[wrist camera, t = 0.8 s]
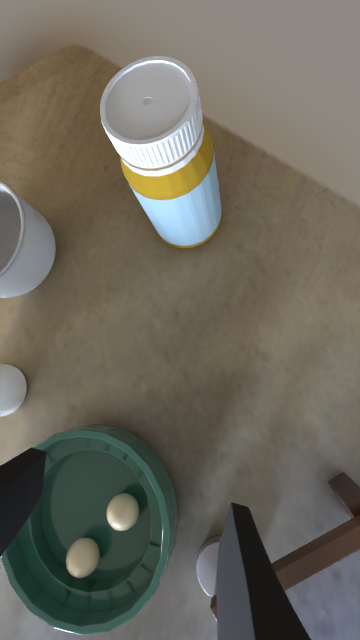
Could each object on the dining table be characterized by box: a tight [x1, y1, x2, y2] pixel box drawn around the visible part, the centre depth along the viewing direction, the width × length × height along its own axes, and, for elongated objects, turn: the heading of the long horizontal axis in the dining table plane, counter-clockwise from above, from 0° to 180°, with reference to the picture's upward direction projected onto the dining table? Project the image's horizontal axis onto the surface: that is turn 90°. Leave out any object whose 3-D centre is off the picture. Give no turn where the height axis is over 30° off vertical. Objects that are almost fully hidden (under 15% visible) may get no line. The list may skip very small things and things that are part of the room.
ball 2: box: [107, 493, 139, 531], centre depth 28 cm, size 3×3×3 cm
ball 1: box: [66, 538, 100, 578], centre depth 28 cm, size 3×3×3 cm
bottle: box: [100, 56, 221, 248], centre depth 26 cm, size 7×7×15 cm
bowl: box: [1, 424, 178, 635], centre depth 28 cm, size 15×15×4 cm
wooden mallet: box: [196, 473, 360, 621], centre depth 24 cm, size 15×4×6 cm, turn 121°
